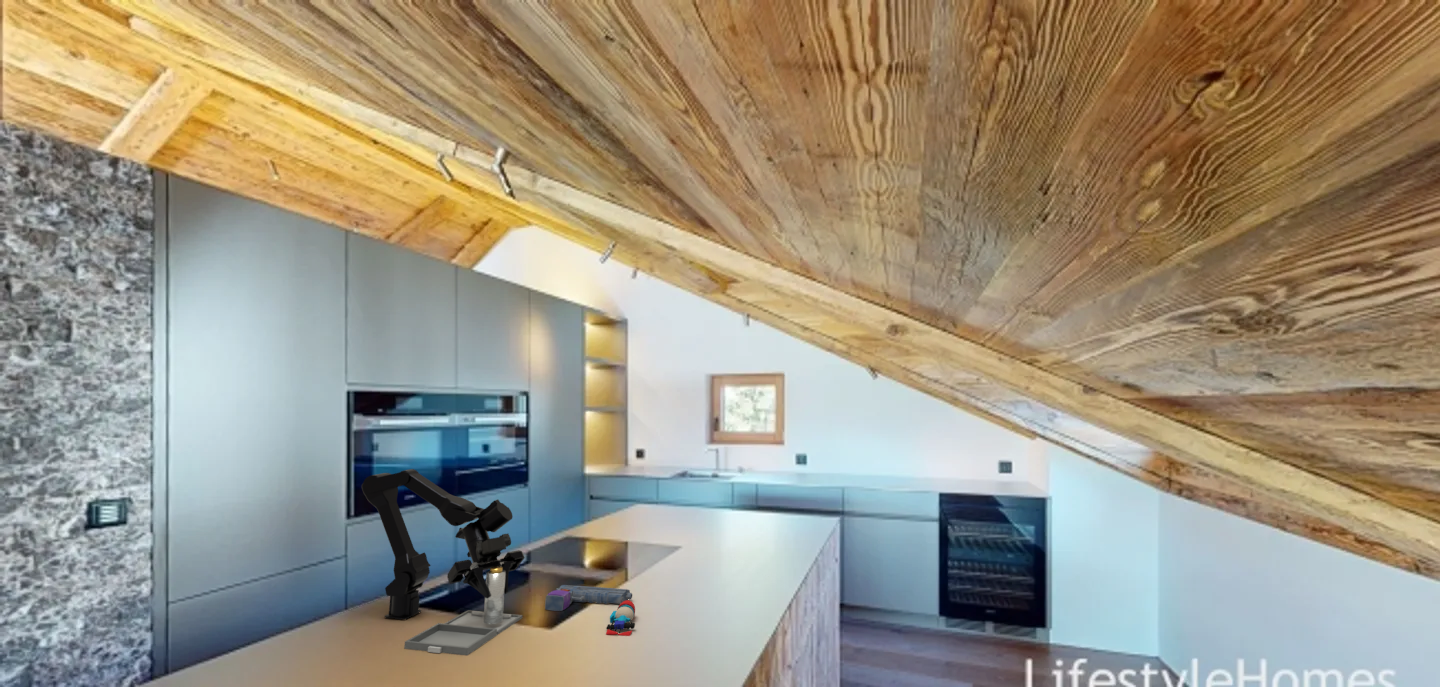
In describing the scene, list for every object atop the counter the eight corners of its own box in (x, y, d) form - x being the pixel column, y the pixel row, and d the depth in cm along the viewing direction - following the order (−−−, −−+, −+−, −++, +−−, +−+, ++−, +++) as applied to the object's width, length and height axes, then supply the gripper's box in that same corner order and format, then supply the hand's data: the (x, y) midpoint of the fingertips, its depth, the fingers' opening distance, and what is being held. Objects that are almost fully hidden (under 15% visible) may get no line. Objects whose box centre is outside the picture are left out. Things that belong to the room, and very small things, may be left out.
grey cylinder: (479, 623, 149) (483, 569, 151) (489, 616, 154) (493, 564, 155) (496, 624, 148) (499, 571, 150) (506, 618, 153) (509, 566, 154)
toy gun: (619, 599, 164) (634, 585, 178) (539, 593, 167) (560, 580, 182) (618, 616, 163) (634, 601, 178) (538, 610, 166) (559, 596, 181)
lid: (437, 633, 148) (437, 624, 148) (467, 616, 160) (468, 607, 160) (495, 639, 145) (496, 630, 145) (522, 621, 157) (522, 612, 158)
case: (401, 654, 136) (402, 642, 136) (437, 633, 148) (438, 623, 148) (465, 661, 133) (466, 649, 133) (496, 639, 145) (497, 628, 145)
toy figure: (633, 642, 149) (642, 611, 164) (631, 623, 149) (640, 594, 164) (603, 644, 149) (615, 613, 164) (601, 625, 149) (613, 596, 164)
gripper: (456, 529, 149) (474, 584, 141) (523, 519, 163) (543, 569, 155) (439, 555, 153) (456, 611, 145) (506, 544, 167) (525, 593, 159)
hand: (497, 595), depth 151 cm, fingers closed on grey cylinder, 5 cm apart
